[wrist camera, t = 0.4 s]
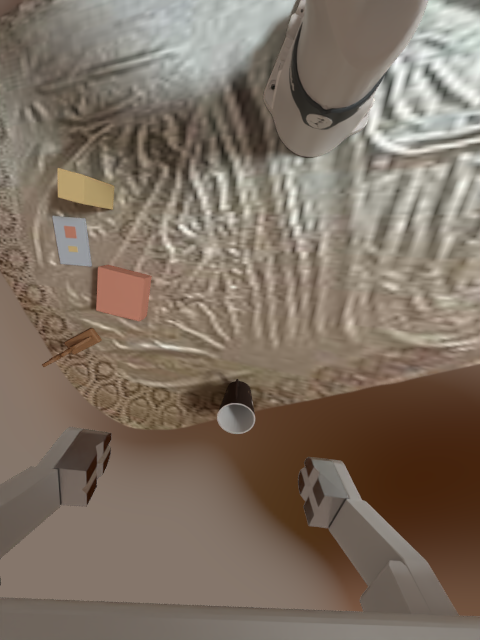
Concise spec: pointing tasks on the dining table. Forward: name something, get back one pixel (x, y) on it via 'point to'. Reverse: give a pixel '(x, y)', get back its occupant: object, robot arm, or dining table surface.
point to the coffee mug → (237, 409)
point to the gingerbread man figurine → (77, 344)
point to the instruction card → (72, 240)
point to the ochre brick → (84, 189)
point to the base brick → (122, 292)
